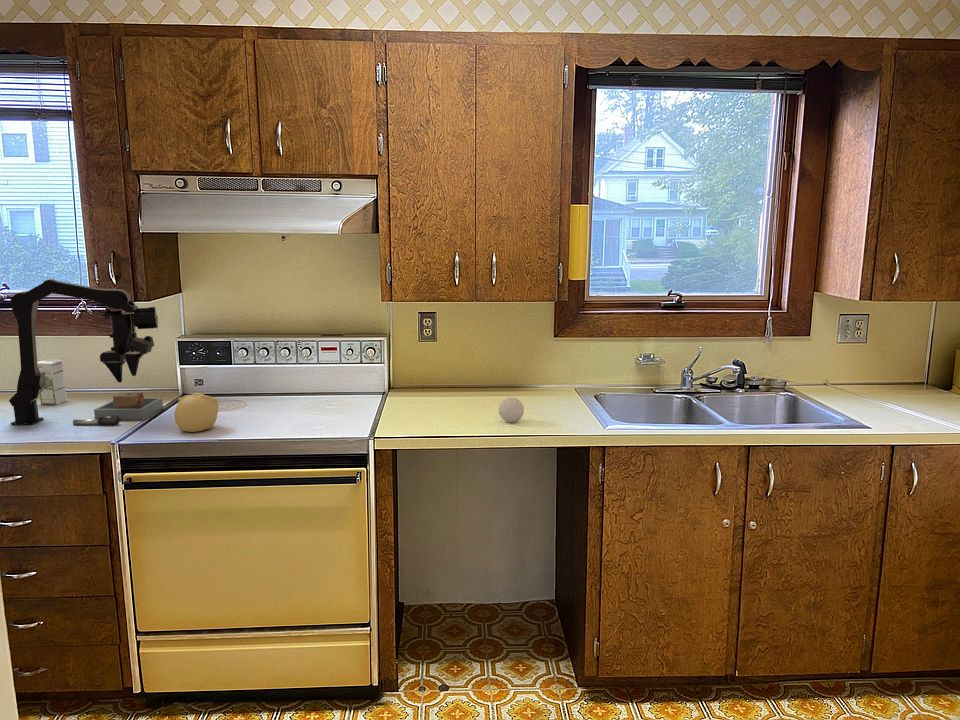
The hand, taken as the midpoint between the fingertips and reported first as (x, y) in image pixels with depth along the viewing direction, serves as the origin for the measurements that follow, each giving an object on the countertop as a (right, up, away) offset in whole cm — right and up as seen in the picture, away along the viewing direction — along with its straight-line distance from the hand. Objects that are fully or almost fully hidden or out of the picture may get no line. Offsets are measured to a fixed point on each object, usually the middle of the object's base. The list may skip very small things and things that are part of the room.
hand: (127, 378), depth 221 cm
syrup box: (-33, -9, +17) cm, 38 cm away
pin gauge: (-5, -14, -10) cm, 17 cm away
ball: (+121, -13, -7) cm, 122 cm away
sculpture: (+28, -15, -14) cm, 35 cm away
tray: (0, -11, +2) cm, 12 cm away
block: (0, -11, +2) cm, 11 cm away
